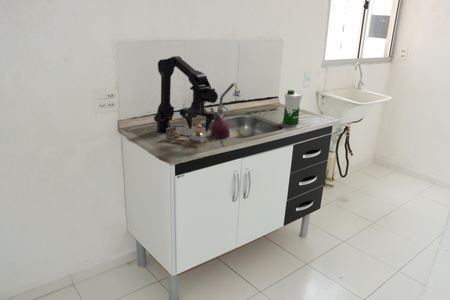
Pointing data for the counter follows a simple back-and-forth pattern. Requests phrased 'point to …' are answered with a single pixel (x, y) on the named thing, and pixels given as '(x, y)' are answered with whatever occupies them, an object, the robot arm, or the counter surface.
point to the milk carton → (291, 107)
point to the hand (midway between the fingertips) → (198, 130)
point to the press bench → (180, 138)
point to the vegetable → (220, 128)
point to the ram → (197, 135)
